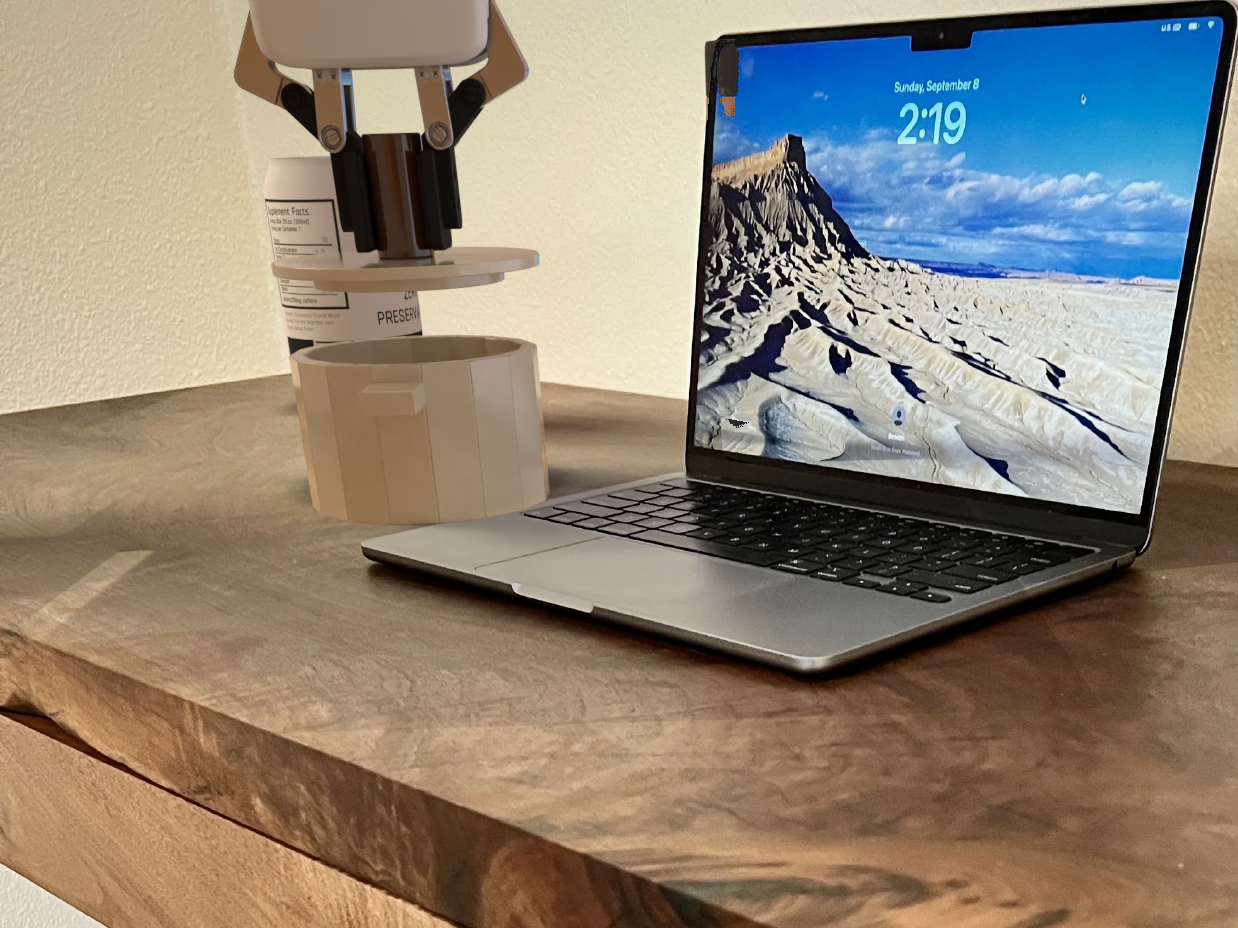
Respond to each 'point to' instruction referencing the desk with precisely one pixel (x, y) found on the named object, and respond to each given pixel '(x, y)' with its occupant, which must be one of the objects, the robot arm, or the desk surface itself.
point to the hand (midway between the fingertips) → (405, 245)
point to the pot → (421, 427)
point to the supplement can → (313, 227)
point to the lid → (401, 237)
